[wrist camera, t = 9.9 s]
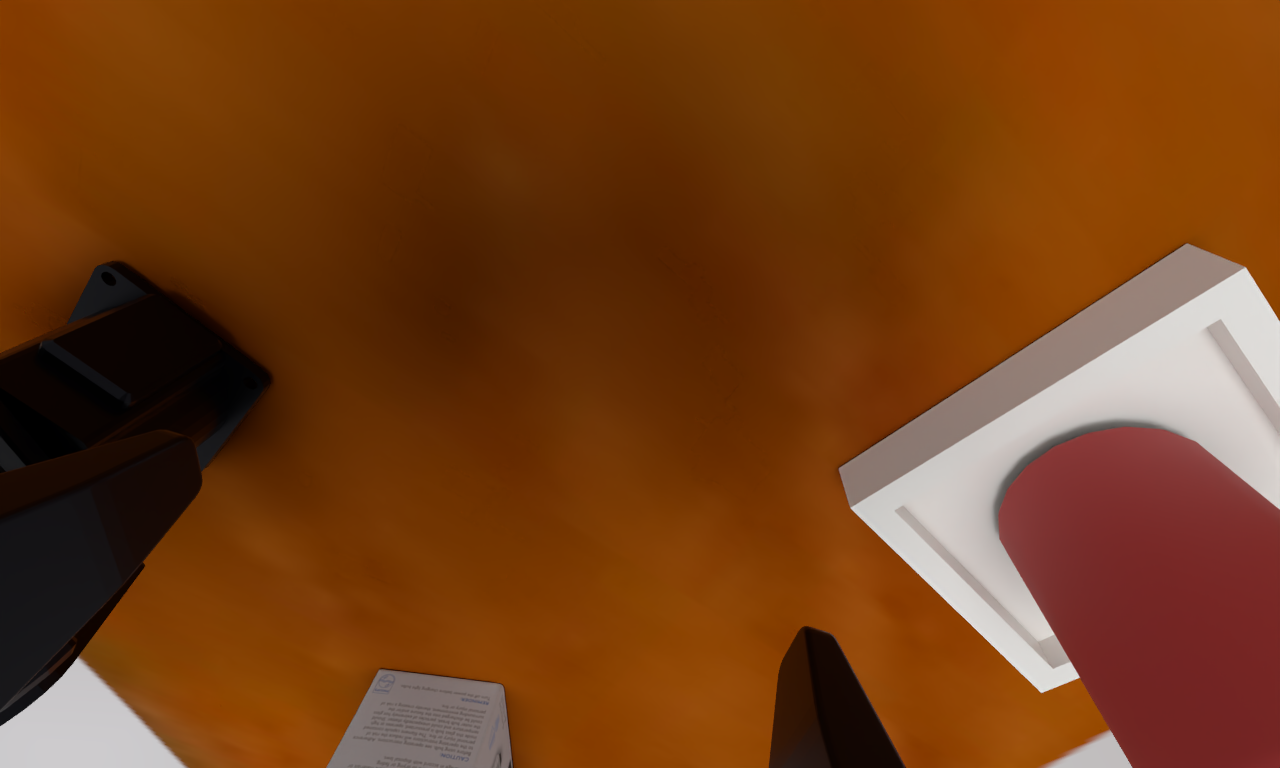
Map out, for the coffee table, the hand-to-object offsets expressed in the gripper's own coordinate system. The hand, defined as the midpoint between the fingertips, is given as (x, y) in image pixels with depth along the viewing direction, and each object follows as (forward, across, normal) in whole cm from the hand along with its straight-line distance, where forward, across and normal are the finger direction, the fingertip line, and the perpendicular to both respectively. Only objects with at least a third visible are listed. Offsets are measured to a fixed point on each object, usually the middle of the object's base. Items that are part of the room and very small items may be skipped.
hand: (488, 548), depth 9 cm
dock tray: (+14, -17, +4) cm, 22 cm away
